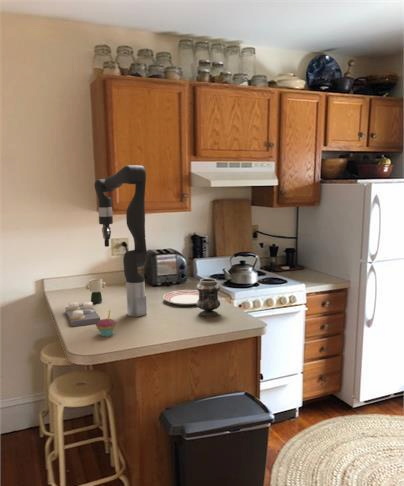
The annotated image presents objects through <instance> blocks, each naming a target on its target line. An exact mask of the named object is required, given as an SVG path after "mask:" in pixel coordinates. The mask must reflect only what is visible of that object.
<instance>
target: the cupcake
mask: <svg viewBox="0 0 404 486" xmlns="http://www.w3.org/2000/svg"><path fill="white" fill-rule="evenodd" d="M110 316H111V309H109V310H108V314H107V318H103V319H100V321H99V322H97V323H95V327H96V329H97V330H98V331H99V332H100V336H101V337H110V336H112V335H113V332H114V329H115V328H116V327H117V322H116V321H115V320H114V319H112V318H110Z"/></svg>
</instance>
